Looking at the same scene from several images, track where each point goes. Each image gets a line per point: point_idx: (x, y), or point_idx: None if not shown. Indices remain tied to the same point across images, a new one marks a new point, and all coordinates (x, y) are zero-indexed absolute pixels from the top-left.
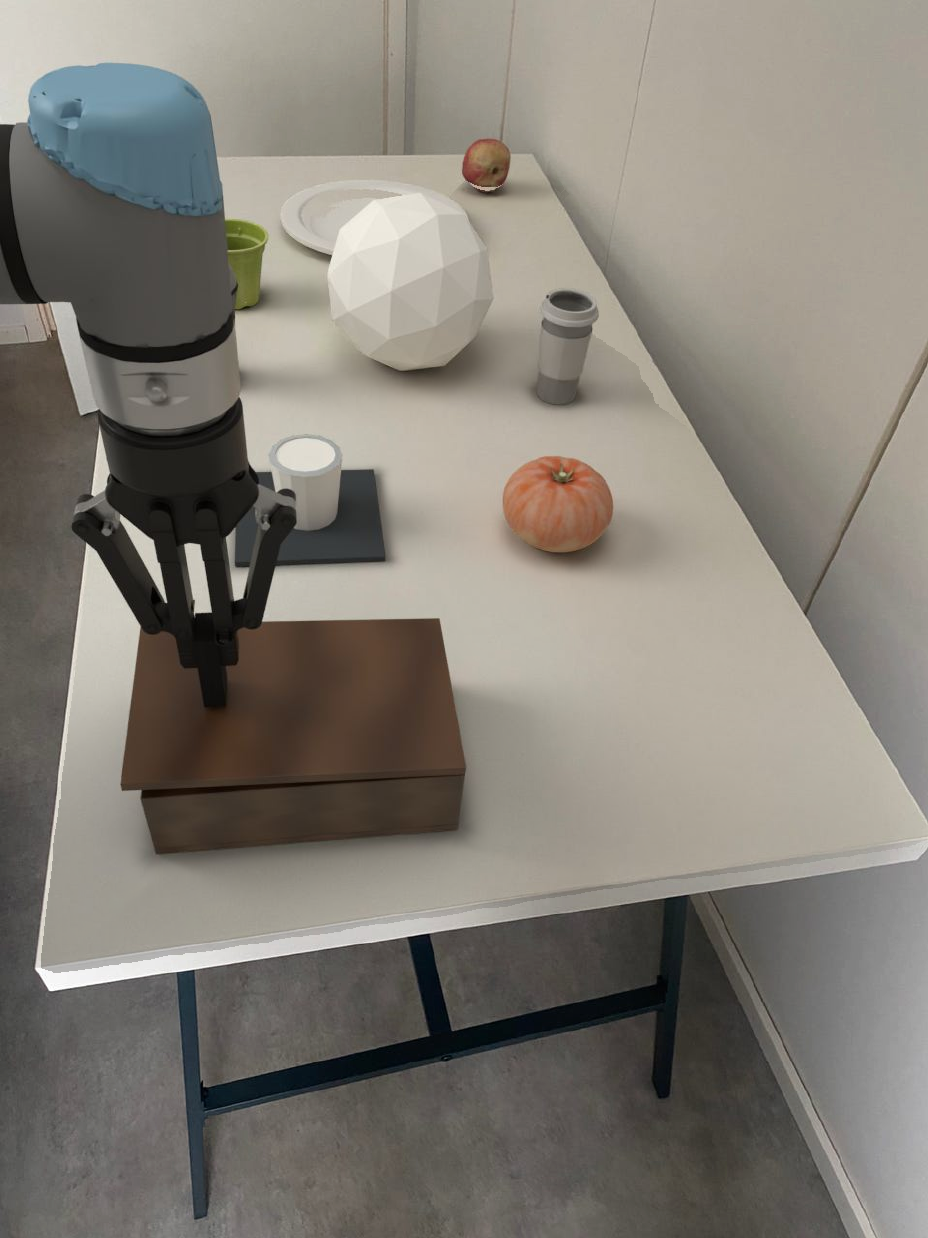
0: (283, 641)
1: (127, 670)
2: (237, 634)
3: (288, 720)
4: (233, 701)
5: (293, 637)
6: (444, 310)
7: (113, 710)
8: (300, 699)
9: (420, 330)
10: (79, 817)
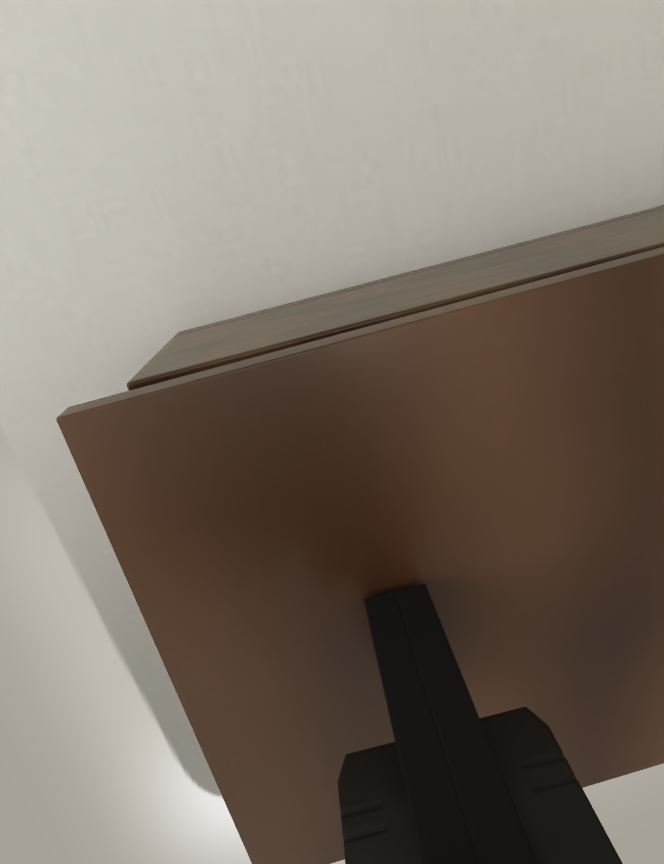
0: (563, 382)
1: (32, 260)
2: (580, 786)
3: (601, 651)
4: (453, 635)
5: (594, 356)
6: None
7: (65, 389)
8: (629, 587)
9: None
10: (132, 626)
